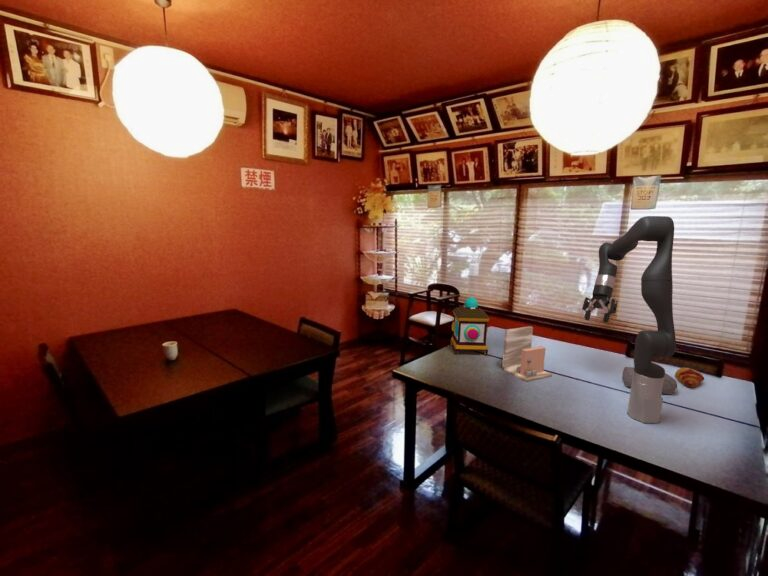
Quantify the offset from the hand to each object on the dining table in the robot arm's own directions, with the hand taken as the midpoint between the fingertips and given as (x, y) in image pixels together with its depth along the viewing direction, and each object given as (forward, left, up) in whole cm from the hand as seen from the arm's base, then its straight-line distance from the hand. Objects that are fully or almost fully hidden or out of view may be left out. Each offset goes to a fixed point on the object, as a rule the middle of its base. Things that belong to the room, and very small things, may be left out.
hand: (595, 321), depth 165 cm
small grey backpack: (-7, -23, -29) cm, 37 cm away
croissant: (-2, -47, -29) cm, 55 cm away
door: (+7, +24, -27) cm, 36 cm away
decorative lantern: (+41, +44, -28) cm, 66 cm away
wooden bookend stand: (+9, +25, -28) cm, 39 cm away
